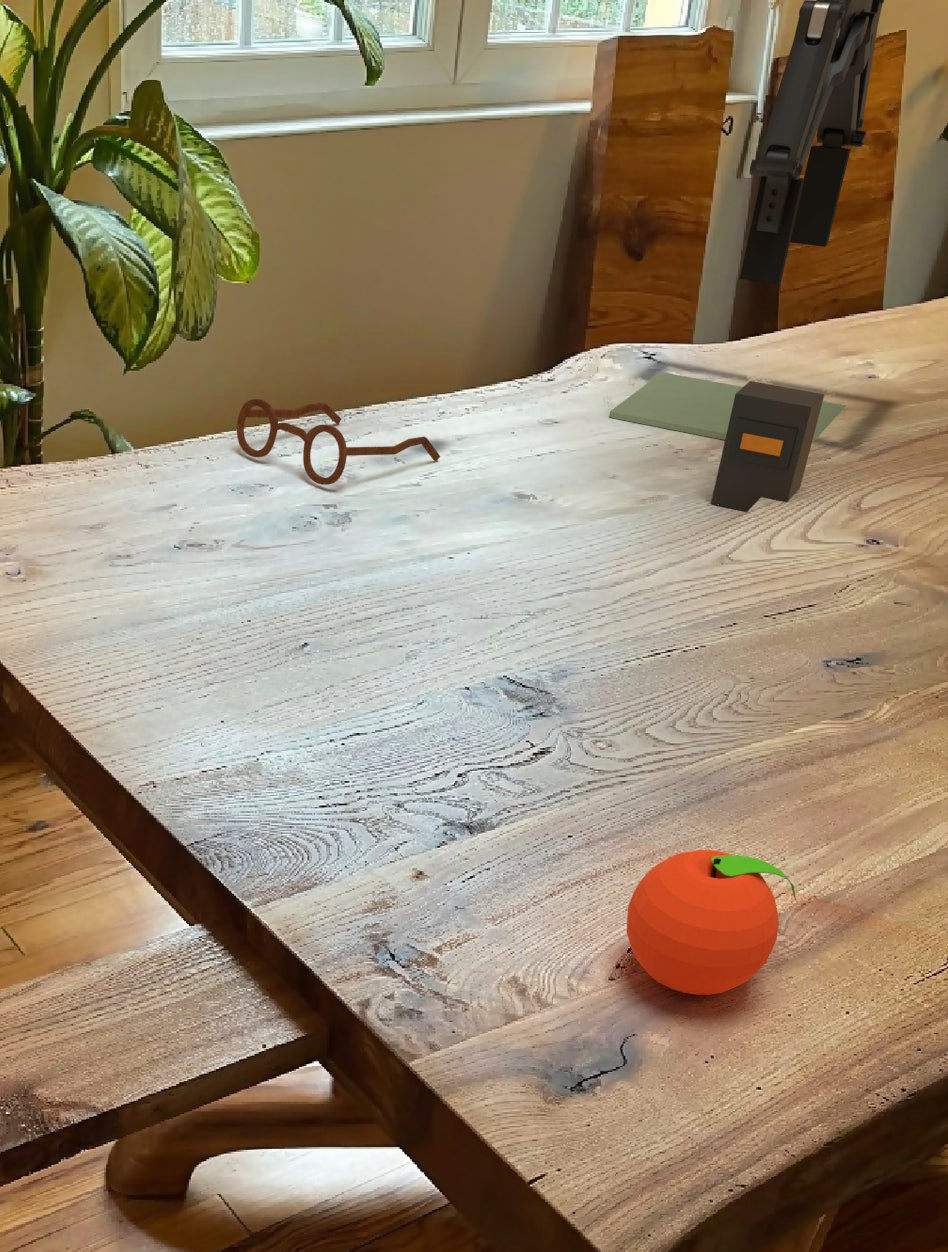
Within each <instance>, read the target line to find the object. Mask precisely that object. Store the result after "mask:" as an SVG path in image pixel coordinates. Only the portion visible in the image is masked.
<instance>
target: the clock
mask: <svg viewBox="0 0 948 1252" xmlns="http://www.w3.org/2000/svg"><path fill="white" fill-rule="evenodd" d="M742 387H743V388H741V389H740V390H739V391H738V392H737V393H736V394H735V398H734V403H733V407H732V411H731V416H730V420H729V425H728V429H727V434H726V438H725V440H724V443H723V448H722V452H721V456H720V460H719V464H718V470H717V474H716V478H715V483H714V488H713V492H712V496H711V501H710V504H711V503H713V504H712V505H714V504H719V505H721V506H720V507H723V506H726V507H725V508H728V507H731V508H730V509H732V508H736V509H735V510H737V509H739V510H738V511H743V512H746V511H747V513H748V512H749V511H750V510H751V509H752V508H753V507H754V506H755V504H757V502H758V501H759V500H760V499H761V498H763V499H767V500H773V501H777V502H781V503H785V504H786V503H788V502H790V500H791V499H792V498H793V497H794V495H795V494H796V493H798V491H799V490H800V489H801V486H802V482H803V479H804V474H805V470H806V467H807V463H808V460H809V455H810V453H811V452H810V451H811V447H812V444H813V442H812V440H813V436H814V433H815V429H816V425H817V421H818V417H819V413H820V410H821V406H822V402H823V401H824V398H825V393H820V392H814V391H809V390H804V389H797V388H793V387H788V386H787V387H786V386H781V385H776V384H771V383H765V382H760V381H759V382H758V381H754V380H749V381H748V382H747V383H746V384H745V385H743V386H742ZM719 505H718V506H719Z"/></svg>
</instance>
